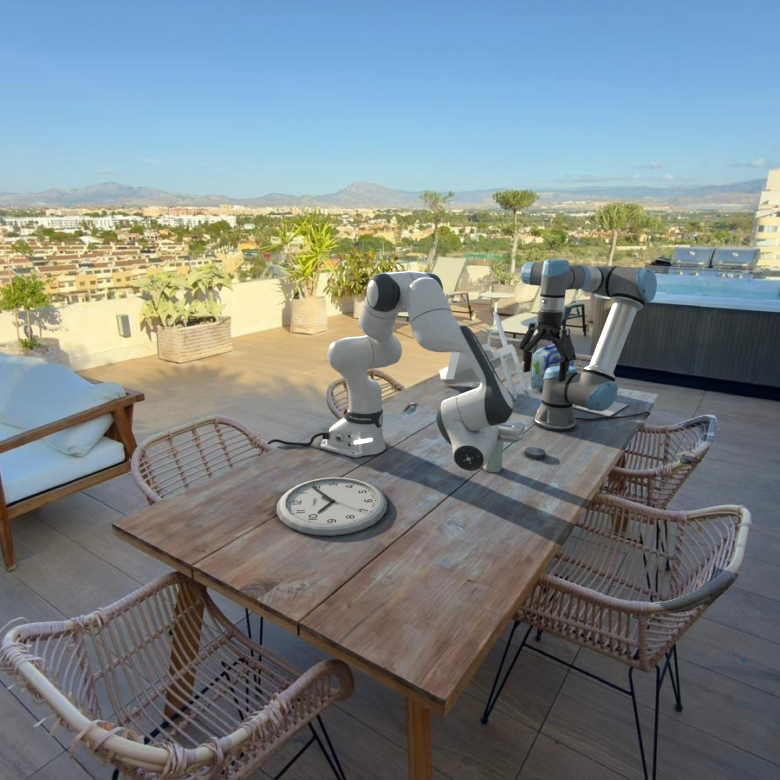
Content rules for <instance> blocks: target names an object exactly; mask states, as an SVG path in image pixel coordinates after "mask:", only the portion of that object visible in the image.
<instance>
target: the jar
mask: <svg viewBox="0 0 780 780" xmlns="http://www.w3.org/2000/svg"><path fill="white" fill-rule="evenodd" d="M504 443H505V442H503V441H497V443H496V445H495V448H494V449H493V452H492V455H491V457H490V459H489V460H488V462H487V463H486V464H485V465H484V466H483V467H482V468H483V470H484V471H486V472H489V473H498V472H499V473H500V472H501V471H502V464H503V455H504Z"/></svg>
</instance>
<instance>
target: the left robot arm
mask: <svg viewBox="0 0 780 780" xmlns="http://www.w3.org/2000/svg"><path fill="white" fill-rule="evenodd" d="M365 294H366V295H365V297H364V300H363V304H362V306H361V309H360V313H359V316H358V326H359V328H360V330H361V331H362V332H363V333H364V334H365V335H360V336H359V335H358V336H351V337H344V338H340V339H337V340H335V341H332V342H331V343H330V344H329V346H328V349H327V353H326V354H327V362H328V363H329V366H330V367H331V368H332V369H333V370H334V371H335V372H337V373H339V374H340V375H341V377H342V378H343V379H344V381H345V383H346V386H347V394H348V405H347V406H346V407H345V408H344V409H343V411H341V416H344V417H342V418H340V419H339V420H337V421H336V422H335V423H333V424H332V425H331V426H330V428H328V427H327V428H324V427H323V428H322V431H320V432H318V433H316V434H314V435H312V437H311V438H310V441H308V442H295V441H294V442H293V441H286V440H282V439H279V438H274V439H271V440H269V441H268V442H266V444H267V445H271V444H272V443H279V444H283V445H287V446H297V447H299V446H301V447H309V446H311V445H312V444H313V443H314V440H315V439H316V438H318V437H321V436H322V438H321V439H322V440H321V442H320V449H323V450H326V451H329V452H333V453H336V454H341V455H343V456H347V457H351V458H355V459H356V458H361V457H363V456H372V455H377V454H380V453H382V452H384V451H385V450H386V448H387V446H386V443H385V442H386V441H385V438H384V432H383V423H384V410H383V409H384V408H383V407H382V402H383V401H382V399H383V398H382V397H383V391H382V390H383V389H382V387H381V386H382V385H380V383H379V382H378V381H376V380H375V379H372V378H370V377H369V376H368V370H372V369H380V368H386V367H390V366H392V365H395V364H398V363H399V361H400V359H401V358H402V355H403V354H402V353H403V347H402V344H401V341H400V340H399V339H398V337H397V336H395V335H394V328H395V326H396V321H397V319H398V316H399V314H400V313H407V315H408V321H409V325H410V328H411V331H412V335H413V336H414V339H415V341H416V343H417V344H418V345H419V346H420V347H422V348H423V349H425V350H427V351H429V352H434V353H451V352H460V353H463V354H465V355H466V357H467V358H468V360H469V362H470V364H471V366H472V368H473V369H474V371H475V373H476V375H477V377H478V379H479V381H480V382H479V385H478V386H477V387H476V388H473V389H470V390H468V391H465V392H463V393H459V394H456V395H453V396H450V397H448V398H446V399H443V400H441V402H440V403H439V405H438V407H437V412H436V419H435V420H436V425H437V427H438V429H439V432H440V434H441V436H442V438H443V439H444V440H445V441H446V442H447V443H448V444H449V445H450V446H451V448H452V451H451V453H452V459H453V461H454V463H455V464H456V466H457V467H458V468H460V469H462V470H464V471H468V472H474V471H478V470H480V469H482V468H483V466H484V465H485V464H486V463H487V462H488V460H489V459H490V457H491V455H492V452H493V449H494V448H495V445H496V443H497V441H503V442H504V443H511V444H515V443H518V442H520V441H522V440H523V439H524V434H525V424H524V423H523V422H521V421H513V420H510V419H511V418H510V417H511V416H512V414H513V412H514V408H515V406H514V401H513V399H512V396H511V393H510V391H508V389H507V388H506V387H505V385H504V384H503V382H502V380H501V379H500V377H499V375H498V374H497V371H496V369H494V368H493V366H492V364H491V362H490V361H489V359H488V357H487V355H486V353H485V351H484V350H483V348H482V346H481V345H482V344H481V343H480V341H479V339H478V337H477V336H476V335H475V333H474V332H473V330H472V329H471V328H470V327H469V326H468V325H466V324H461V323H460V322H458V321H457V320H456V318H455V317H454V314H453V311H452V308H451V304H450V303H449V300H448V298H447V296H446V294H445V292H444V286H443V282H442V280H441V278H440V277H439V276H438V274H435V273H433V272H429V271H423V272H421V271H412V270H411V271H410V270H404V271H395V272H381V273H377V274H373V275H371V277H370V278H369V280H368V281H367V284H366V288H365Z"/></svg>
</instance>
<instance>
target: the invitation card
mask: <svg viewBox="0 0 780 780" xmlns="http://www.w3.org/2000/svg"><path fill="white" fill-rule="evenodd" d="M628 406H629V404H627V403H623V402H618V401H614V402H613V403H612V405H611V406H610V407H609V408H607V409H606V410H604V411H595V410H589V409H587V408H584V407H581V406H577V405H575V406H574V407H573V409H575V410H581V411H584V412H587V413H593V414H596V415H600V416H603V417H608V416H614V414H616V413H617V412H619V411H621V410H623V409H624V408H626V407H628Z"/></svg>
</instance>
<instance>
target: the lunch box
mask: <svg viewBox="0 0 780 780" xmlns="http://www.w3.org/2000/svg"><path fill="white" fill-rule="evenodd" d="M573 348H574V352H575V353H576V351H575V346H574V345H573ZM560 361H563V360H562V358H561V356H560V354H559V352H558V350H557V348H556V346H555V345H554V343H552V344H550V345H547V346H546V345H545V346H544V347H541V348H538V349H537V350H536V351H535V352H534V354H533V355H532V360H531V371H530V372H531V374H530V387H531V389H533V390H539V391H543V382H544V379H543V378H544V374H545V371H546V369H547V368H550V367H554V366H560ZM574 363H575V360H573V361H570V364H569V366H572V367H574Z"/></svg>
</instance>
